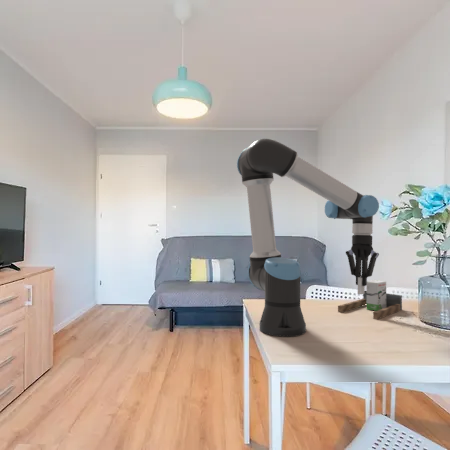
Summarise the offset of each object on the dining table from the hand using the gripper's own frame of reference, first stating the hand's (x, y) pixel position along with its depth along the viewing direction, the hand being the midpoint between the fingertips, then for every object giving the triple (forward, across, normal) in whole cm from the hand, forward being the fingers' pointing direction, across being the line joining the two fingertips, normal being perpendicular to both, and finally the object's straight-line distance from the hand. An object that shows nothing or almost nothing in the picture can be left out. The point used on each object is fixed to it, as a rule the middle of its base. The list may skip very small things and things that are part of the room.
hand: (360, 293), depth 134 cm
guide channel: (+8, 0, -7) cm, 10 cm away
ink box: (+8, -1, -13) cm, 15 cm away
